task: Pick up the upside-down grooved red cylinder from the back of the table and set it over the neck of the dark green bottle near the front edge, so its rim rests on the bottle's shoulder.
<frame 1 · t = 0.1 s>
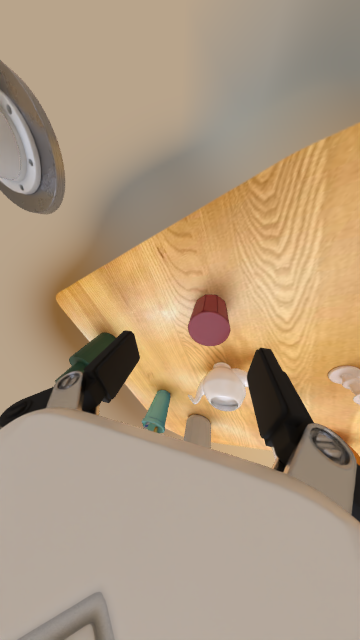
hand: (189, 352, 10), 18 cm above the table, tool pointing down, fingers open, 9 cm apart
grooved red cylinder: (209, 309, 27), on the table
jar: (199, 419, 53), on the table
candle: (342, 373, 28), on the table
cup: (163, 392, 49), on the table
teapot: (221, 368, 35), on the table
green bottle: (109, 341, 41), on the table
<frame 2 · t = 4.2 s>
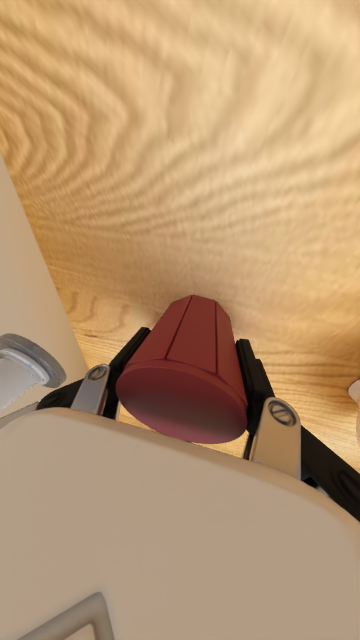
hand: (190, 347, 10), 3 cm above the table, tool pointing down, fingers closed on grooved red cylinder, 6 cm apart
grooved red cylinder: (195, 327, 13), on the table, touching gripper
when the fingers open (13 cm above the table, at t = 12.4 s): grooved red cylinder stays where it is, resting on green bottle.
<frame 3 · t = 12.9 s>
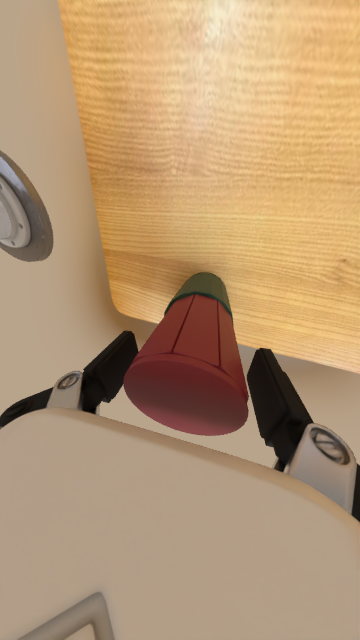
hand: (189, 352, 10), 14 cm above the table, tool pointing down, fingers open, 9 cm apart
grooved red cylinder: (197, 325, 13), point 10 cm above the table, touching green bottle
green bottle: (203, 294, 22), on the table
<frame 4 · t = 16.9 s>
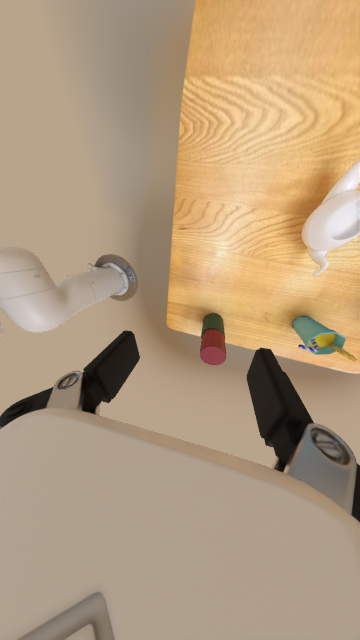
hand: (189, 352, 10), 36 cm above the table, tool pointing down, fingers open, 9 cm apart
grooved red cylinder: (213, 337, 40), point 10 cm above the table, touching green bottle
cup: (298, 322, 42), on the table
teapot: (314, 227, 30), on the table
green bottle: (213, 321, 49), on the table
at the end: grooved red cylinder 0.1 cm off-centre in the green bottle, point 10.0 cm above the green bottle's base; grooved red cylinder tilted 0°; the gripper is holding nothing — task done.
